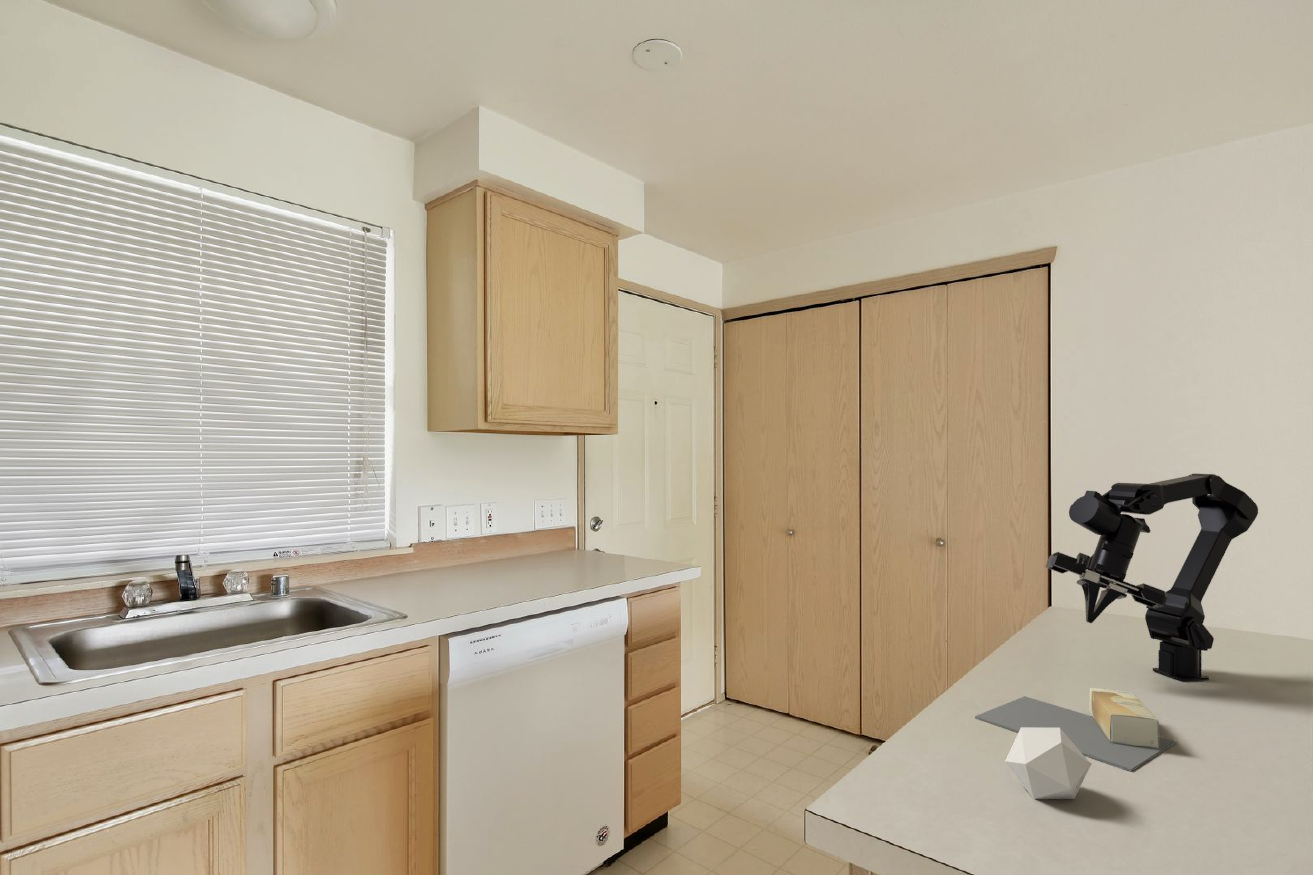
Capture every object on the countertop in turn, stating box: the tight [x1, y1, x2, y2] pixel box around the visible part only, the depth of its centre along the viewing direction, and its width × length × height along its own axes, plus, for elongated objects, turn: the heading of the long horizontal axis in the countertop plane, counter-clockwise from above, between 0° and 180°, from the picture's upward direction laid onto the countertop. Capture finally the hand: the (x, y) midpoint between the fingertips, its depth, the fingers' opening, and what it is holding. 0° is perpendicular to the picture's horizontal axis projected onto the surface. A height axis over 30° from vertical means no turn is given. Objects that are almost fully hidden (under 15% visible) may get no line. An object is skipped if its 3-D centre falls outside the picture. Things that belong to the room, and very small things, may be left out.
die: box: [1004, 727, 1092, 800], centre depth 86 cm, size 8×9×10 cm
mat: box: [974, 696, 1176, 772], centre depth 106 cm, size 16×22×1 cm
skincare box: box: [1088, 687, 1160, 749], centre depth 105 cm, size 6×4×12 cm
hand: (1088, 622), depth 126 cm, fingers closed
